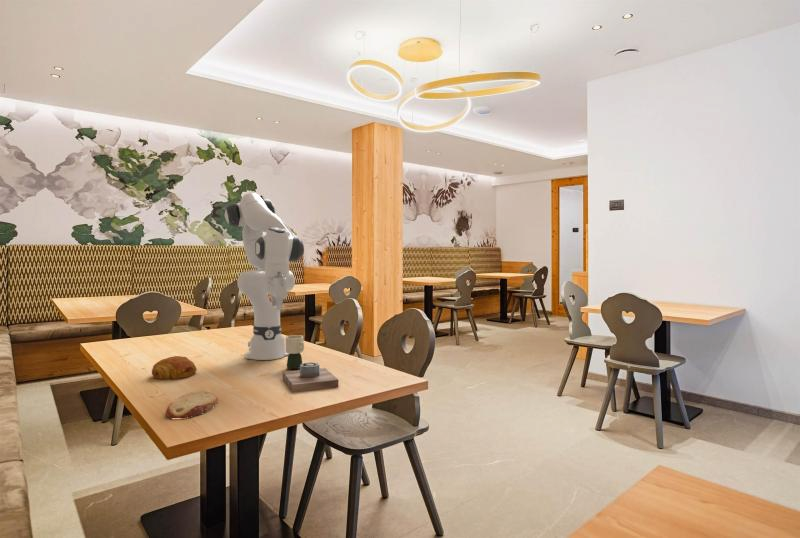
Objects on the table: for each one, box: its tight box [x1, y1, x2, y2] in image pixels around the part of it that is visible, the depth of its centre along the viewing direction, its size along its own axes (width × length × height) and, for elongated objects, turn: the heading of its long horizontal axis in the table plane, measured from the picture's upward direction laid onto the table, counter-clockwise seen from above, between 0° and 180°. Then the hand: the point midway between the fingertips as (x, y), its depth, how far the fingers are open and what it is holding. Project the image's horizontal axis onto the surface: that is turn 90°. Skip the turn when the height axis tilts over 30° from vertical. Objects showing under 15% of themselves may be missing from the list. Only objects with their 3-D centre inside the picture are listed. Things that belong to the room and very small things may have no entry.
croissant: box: [151, 355, 198, 380], centre depth 180 cm, size 14×16×8 cm
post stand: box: [282, 364, 339, 393], centre depth 171 cm, size 18×16×6 cm
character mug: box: [285, 334, 305, 370], centre depth 191 cm, size 11×7×13 cm, turn 52°
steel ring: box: [299, 361, 320, 378], centre depth 171 cm, size 6×6×4 cm
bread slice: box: [165, 390, 219, 419], centre depth 144 cm, size 18×18×4 cm
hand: (276, 307), depth 178 cm, fingers open, 8 cm apart
